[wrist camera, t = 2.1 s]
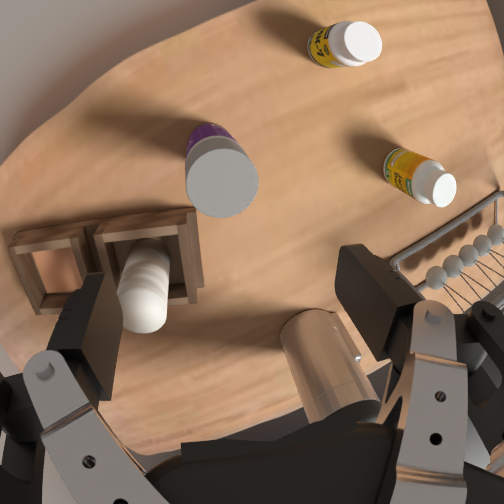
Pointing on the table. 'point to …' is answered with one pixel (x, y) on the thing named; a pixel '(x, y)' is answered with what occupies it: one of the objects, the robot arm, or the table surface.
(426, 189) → the supplement bottle
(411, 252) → the newton's cradle
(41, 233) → the wooden divided tray
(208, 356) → the table surface
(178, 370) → the table surface
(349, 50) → the supplement bottle
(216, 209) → the container
